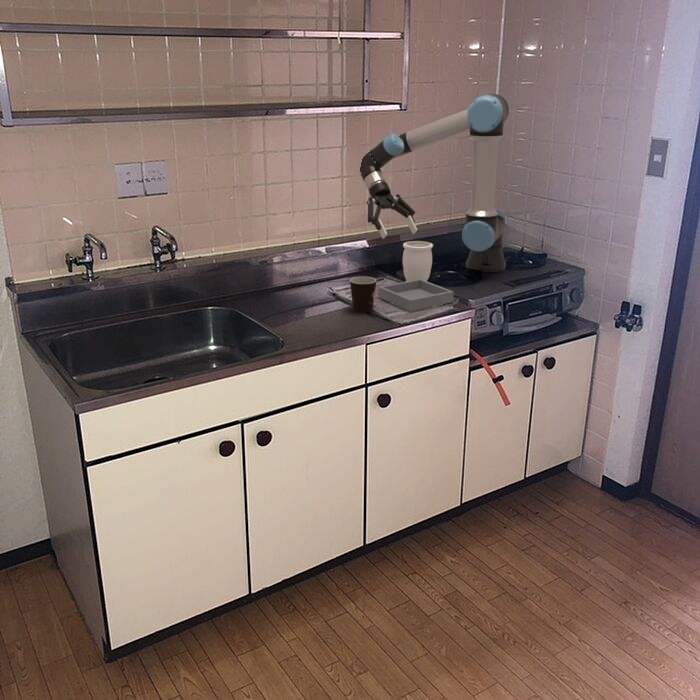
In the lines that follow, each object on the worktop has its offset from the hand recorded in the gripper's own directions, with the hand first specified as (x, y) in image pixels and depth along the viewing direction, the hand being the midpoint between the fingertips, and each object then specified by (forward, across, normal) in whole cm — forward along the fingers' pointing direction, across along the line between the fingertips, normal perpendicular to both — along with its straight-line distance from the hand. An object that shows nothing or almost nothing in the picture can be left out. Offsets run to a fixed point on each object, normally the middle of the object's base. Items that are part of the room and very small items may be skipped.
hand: (400, 234), depth 280 cm
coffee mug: (+28, +31, +5) cm, 42 cm away
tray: (+30, +12, +6) cm, 33 cm away
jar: (+19, 0, -4) cm, 20 cm away
